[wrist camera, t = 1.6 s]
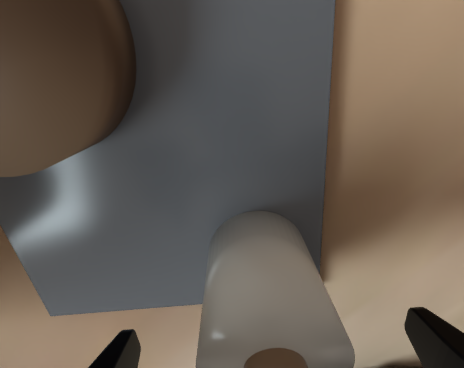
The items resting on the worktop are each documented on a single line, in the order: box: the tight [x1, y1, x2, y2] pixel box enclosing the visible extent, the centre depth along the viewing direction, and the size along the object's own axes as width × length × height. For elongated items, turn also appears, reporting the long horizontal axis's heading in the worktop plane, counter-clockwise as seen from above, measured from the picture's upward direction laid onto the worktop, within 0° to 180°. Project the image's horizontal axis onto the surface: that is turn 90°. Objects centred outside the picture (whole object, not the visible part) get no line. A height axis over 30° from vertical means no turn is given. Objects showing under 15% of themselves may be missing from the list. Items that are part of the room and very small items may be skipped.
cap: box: [196, 211, 355, 368], centre depth 9 cm, size 4×4×6 cm
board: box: [0, 0, 335, 316], centre depth 10 cm, size 16×14×1 cm
